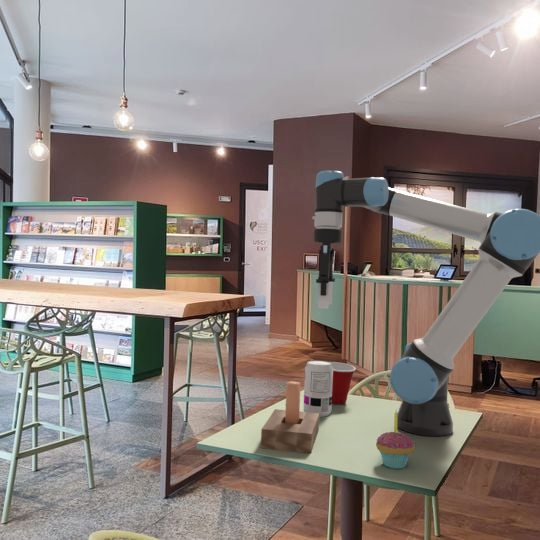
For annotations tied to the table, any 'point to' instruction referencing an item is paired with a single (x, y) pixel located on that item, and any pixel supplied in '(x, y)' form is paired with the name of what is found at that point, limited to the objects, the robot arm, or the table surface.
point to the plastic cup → (341, 381)
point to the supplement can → (318, 387)
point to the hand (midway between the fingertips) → (325, 306)
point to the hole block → (290, 432)
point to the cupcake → (395, 447)
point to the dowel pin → (292, 402)
